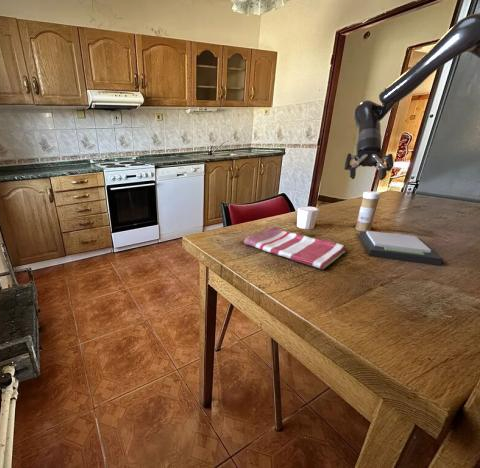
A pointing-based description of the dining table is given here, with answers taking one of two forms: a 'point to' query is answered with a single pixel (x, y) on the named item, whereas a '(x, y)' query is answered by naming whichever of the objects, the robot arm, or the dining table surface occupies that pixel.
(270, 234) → the dish towel
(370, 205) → the sprinkles bottle
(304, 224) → the white cup
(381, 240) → the scale
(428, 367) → the dining table surface
